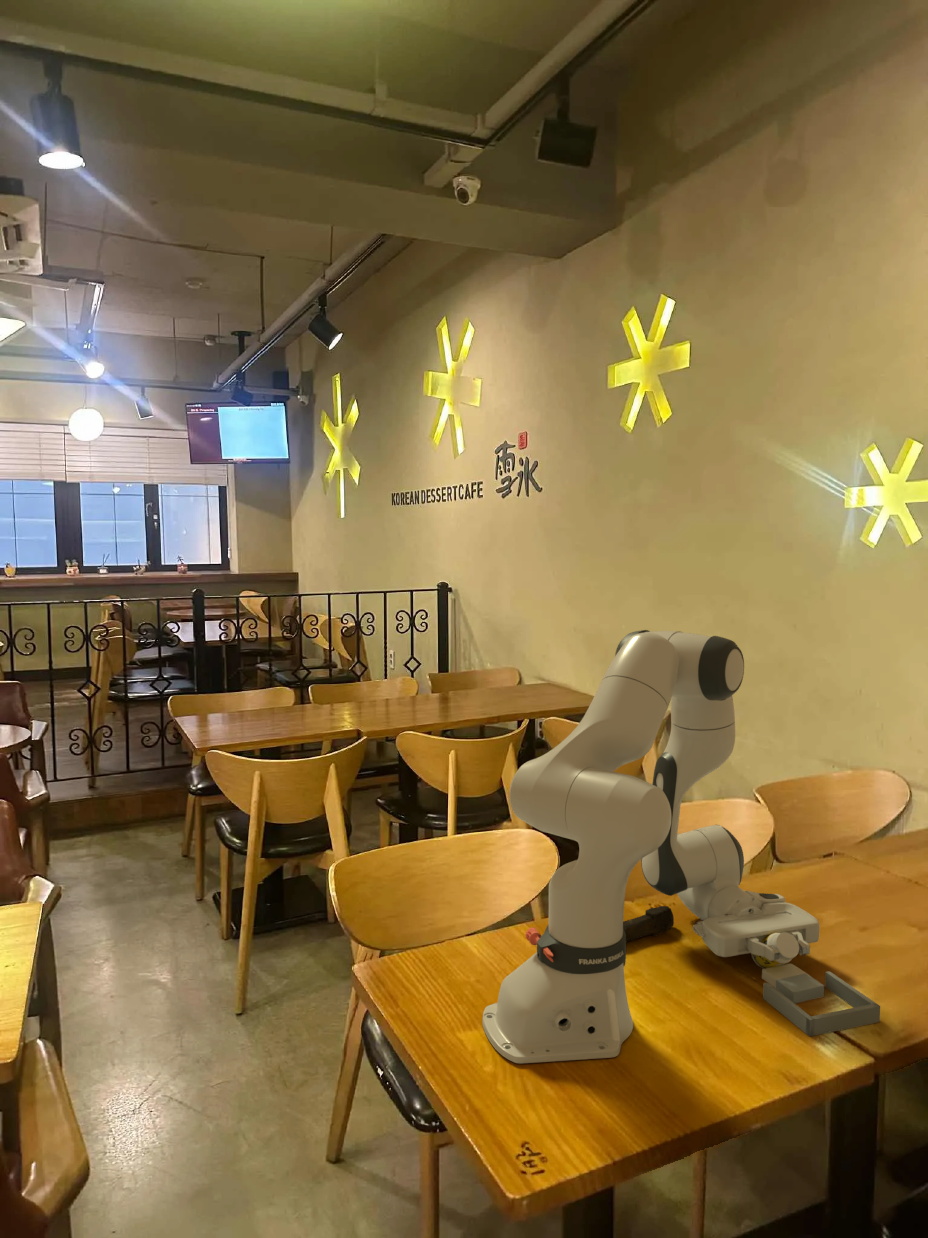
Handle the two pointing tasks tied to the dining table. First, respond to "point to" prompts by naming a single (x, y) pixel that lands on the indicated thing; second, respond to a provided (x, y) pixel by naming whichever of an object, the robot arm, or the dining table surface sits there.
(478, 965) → the dining table surface
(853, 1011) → the grey u-shaped frame
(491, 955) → the dining table surface
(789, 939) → the supplement bottle
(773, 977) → the tile far
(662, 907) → the hand tool
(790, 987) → the tile near
